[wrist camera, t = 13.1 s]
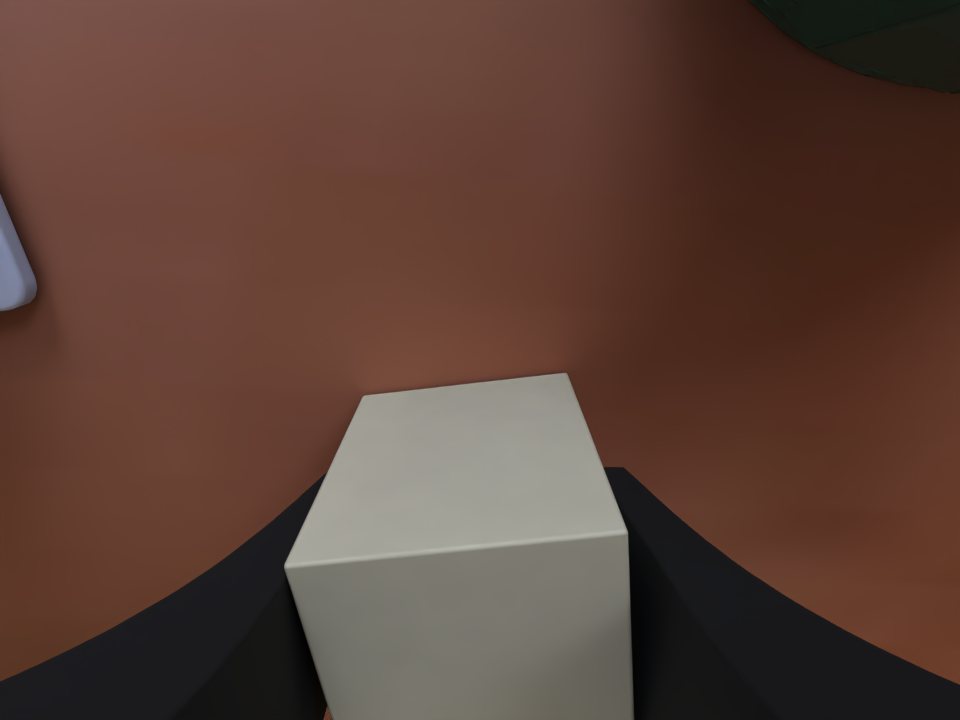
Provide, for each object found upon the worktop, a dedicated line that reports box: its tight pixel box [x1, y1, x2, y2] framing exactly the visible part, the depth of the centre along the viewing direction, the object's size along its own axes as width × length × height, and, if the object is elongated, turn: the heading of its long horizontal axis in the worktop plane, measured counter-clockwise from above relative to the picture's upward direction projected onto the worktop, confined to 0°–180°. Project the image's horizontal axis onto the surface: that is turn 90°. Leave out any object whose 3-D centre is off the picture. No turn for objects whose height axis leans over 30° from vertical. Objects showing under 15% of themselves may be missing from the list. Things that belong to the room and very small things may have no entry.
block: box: [284, 373, 634, 720], centre depth 10 cm, size 4×4×5 cm
